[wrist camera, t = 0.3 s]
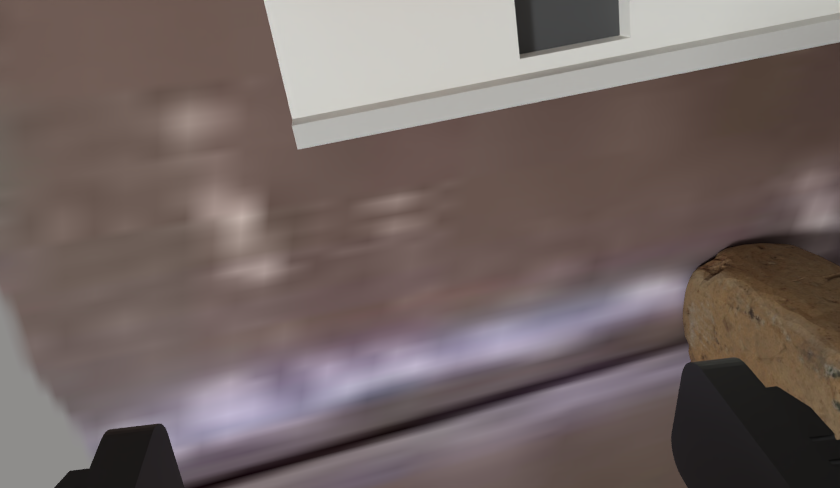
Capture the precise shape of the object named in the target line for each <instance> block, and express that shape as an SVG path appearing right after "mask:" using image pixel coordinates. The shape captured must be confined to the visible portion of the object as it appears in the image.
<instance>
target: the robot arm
mask: <svg viewBox="0 0 840 488" xmlns="http://www.w3.org/2000/svg"><path fill="white" fill-rule="evenodd" d="M671 442H672V451H673V456H674V460H675V463H676V466H677V468H678V471H679V473H680V475H681V477H682V479H683V480H684V482H685V484H686V485H687V487H688V488H840V440H836V438H835V434H834V432H833V431H832V430H831V429H830V428H829V427H828V426H827V425H826V424H825V423H824V421H823V420H822V419H821V418H820V417H819V416H818V415H817V414H816V413H815V412H814V410H813V409H812V408H811V407H809V406H808V405H806V404H805V403H803V402H801V401H800V400H798V399H797V398H795V397H794V396H792V395H790V394H789V393H787V392H786V391H784V390H783V389H781V388H779V387H778V386H774V387H765V386H764V385H763V383H762V382H761V381H760V380H759V379H758V378H757V376H756V375H755V374H754V373H753V372H752V370H751V369H750V368H749V367H748V366H747V365H746V364H745V363H744V362H743V361H742V360H741V359H739V358H736V357H732V358H723V359H715V360H706V361H698V362H690V363H687V364H686V365H685V367H684V369H683V371H682V376H681V382H680V388H679V394H678V399H677V405H676V411H675V417H674V423H673V429H672V436H671ZM55 488H184V485H183V482H182V478H181V475H180V472H179V469H178V465H177V462H176V459H175V456H174V452H173V449H172V446H171V443H170V440H169V436H168V433H167V431H166V429H165V427H164V426H163V425H162V424H152V425H144V426H135V427H127V428H118V429H110V430H108V431H107V432H105V434H104V435H103V437H102V439H101V441H100V444H99V446H98V449H97V451H96V454H95V456H94V459H93V461H92V464H91V466H90V469H82V470H74V471H69V472H68V473H67V475H66V476H65V477H64V478H63V479H62V480H61V481H60V482H59V483H58V484H57V485H56V487H55Z"/></svg>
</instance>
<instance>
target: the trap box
mask: <svg viewBox="0 0 840 488" xmlns="http://www.w3.org/2000/svg"><path fill="white" fill-rule="evenodd" d="M264 3H265V7H266V11H267V15H268V20H269V24H270V28H271V32H272V36H273V41H274V45H275V49H276V53H277V57H278V61H279V66H280V70H281V74H282V78H283V82H284V87H285V91H286V95H287V99H288V103H289V107H290V112H291V116H292V128H293V132H294V136H295V140H296V145H297V149H303V148H308V147H313V146H318V145H323V144H328V143H333V142H338V141H343V140H348V139H353V138H358V137H363V136H368V135H374V134H379V133H384V132H389V131H394V130H399V129H404V128H409V127H414V126H419V125H424V124H429V123H434V122H439V121H444V120H449V119H454V118H459V117H464V116H469V115H474V114H479V113H484V112H489V111H495V110H500V109H505V108H510V107H515V106H520V105H525V104H530V103H535V102H540V101H545V100H550V99H555V98H560V97H565V96H570V95H575V94H580V93H585V92H590V91H595V90H600V89H605V88H610V87H616V86H621V85H626V84H631V83H636V82H641V81H646V80H651V79H656V78H661V77H666V76H671V75H676V74H681V73H686V72H691V71H696V70H701V69H706V68H711V67H716V66H721V65H726V64H732V63H737V62H742V61H747V60H752V59H757V58H762V57H767V56H772V55H777V54H782V53H787V52H792V51H797V50H802V49H807V48H812V47H817V46H822V45H827V44H832V43H837V42H840V0H264Z"/></svg>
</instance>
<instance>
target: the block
mask: <svg viewBox="0 0 840 488" xmlns="http://www.w3.org/2000/svg"><path fill="white" fill-rule="evenodd" d="M683 324H684V332H685V337H686V339H687V341H688V343H689V351H688V352H689V355H690V359H691V362H698V361H706V360H715V359H723V358H732V357H736V358H739V359H741V360H742V361H743V362H744V363H745V364H746V365H747V366H748V367H749V368H750V369H751V370H752V372H753V373H754V374H755V375H756V376H757V378H758V379H759V380H760V381H761V382H762V383H763V385H764V386H765V387H774V386H778V387H779V388H781V389H783V390H784V391H786V392H787V393H789V394H790V395H792V396H794V397H795V398H797V399H798V400H800V401H801V402H803V403H805V404H806V405H808V406H809V407H811V408H812V409H813V410H814V412H815V413H816V414H817V415H818V416H819V417H820V418H821V419H822V420H823V421H824V423H825V424H826V425H827V426H828V427H829V428H830V429H831V430H832V431H833V432H834V434H835V438H836V440H840V266H838V265H836V264H834V263H832V262H830V261H828V260H826V259H824V258H822V257H820V256H818V255H815V254H813V253H811V252H808V251H806V250H803V249H801V248H799V247H796V246H793V245H788V244H769V243H757V244H747V245H740V246H735V247H730V248H727V249H725V250H723V251H721V252H719V253H718V254H717V256H716V257H715V259H713V260H712V261H710V262H708V263H706V264H705V265H703V266H700V267H698V268H697V269H696V270H695V271H694V272H693V274H692V276H691V278H690V280H689V282H688V285H687V288H686V292H685V299H684V306H683Z"/></svg>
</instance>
